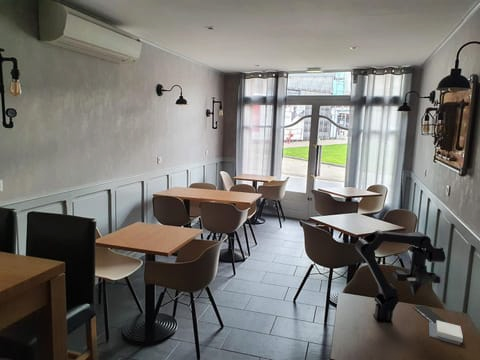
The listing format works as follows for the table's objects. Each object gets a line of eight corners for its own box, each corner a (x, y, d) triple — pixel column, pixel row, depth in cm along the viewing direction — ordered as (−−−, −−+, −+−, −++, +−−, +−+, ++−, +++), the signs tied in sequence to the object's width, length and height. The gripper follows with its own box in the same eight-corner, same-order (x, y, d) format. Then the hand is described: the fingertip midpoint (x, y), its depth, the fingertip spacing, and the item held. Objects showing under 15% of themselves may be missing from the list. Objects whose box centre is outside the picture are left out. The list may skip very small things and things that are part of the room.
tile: (437, 331, 145) (462, 338, 141) (436, 320, 154) (460, 326, 150) (436, 336, 146) (462, 343, 142) (435, 324, 155) (459, 330, 151)
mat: (429, 336, 146) (429, 335, 146) (428, 322, 157) (428, 321, 157) (460, 345, 141) (460, 344, 141) (457, 330, 152) (457, 329, 152)
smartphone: (434, 324, 155) (412, 305, 171) (434, 326, 155) (411, 307, 171) (449, 323, 156) (425, 305, 172) (449, 326, 156) (425, 307, 172)
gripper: (404, 267, 147) (400, 302, 149) (450, 269, 147) (444, 304, 149) (394, 257, 158) (390, 290, 160) (436, 260, 158) (431, 292, 160)
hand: (414, 294), depth 157 cm, fingers closed
